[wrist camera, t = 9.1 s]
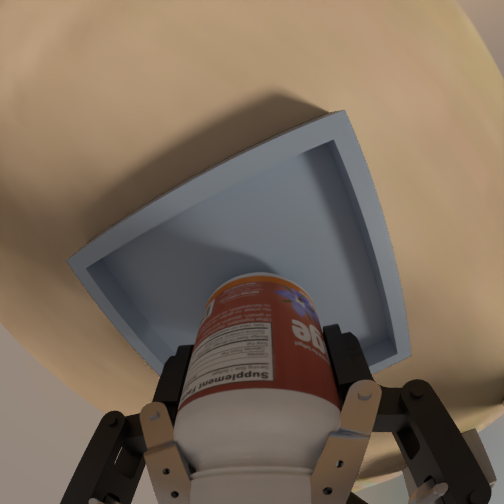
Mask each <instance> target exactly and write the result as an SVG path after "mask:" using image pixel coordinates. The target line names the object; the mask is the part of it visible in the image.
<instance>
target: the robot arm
mask: <svg viewBox="0 0 504 504" xmlns="http://www.w3.org/2000/svg"><path fill="white" fill-rule="evenodd" d="M323 336H324V340H325V343H326V347H327V350H328V354H329V358H330V362H331V367H332V369H333V374H334V378H335V382H336V386H337V390H338V395H339V399H340V403H341V407H342V411H341V413H340V427H339V429H338V430H336V431H335V430H332V432H331V434H330V436H329V438H328V440H327V443H326V445H325V447H324V450H323V452H322V454H321V456H320V459H319V461H318V463H317V465H316V467H315V469H314V471H313V474H312V476H311V478H310V484H311V504H368V503H366V502H365V501H364V500H362V499H361V498H359V497H358V496H357V495H355V494H354V493H352V492H351V490H352V487H353V485H354V482H355V480H356V477H357V475H358V472H359V469H360V466H361V464H362V461H363V458H364V455H365V452H366V449H367V446H368V443H369V439H370V436H371V433H372V432H392V434H393V436H394V438H395V440H396V442H397V444H398V446H399V448H400V451H401V453H402V455H403V457H404V459H405V461H406V464H407V466H408V468H409V470H410V472H411V475H412V477H413V479H414V481H415V484H416V486H417V488H418V489H417V490H416V491H414V492H413V494H412V495H411V496H410V498H409V502H408V504H488V502H489V500H490V498H491V487H490V485H489V483H488V481H487V479H486V477H485V475H484V473H483V471H482V469H481V468H480V466H479V464H478V462H477V460H476V459H475V457H474V455H473V453H472V451H471V450H470V448H469V446H468V444H467V443H466V441H465V439H464V438H463V436H462V434H461V433H460V431H459V429H458V428H457V426H456V424H455V423H454V421H453V420H452V418H451V416H450V415H449V413H448V412H447V410H446V408H445V407H444V405H443V404H442V402H441V401H440V399H439V398H438V396H437V395H436V393H435V392H434V390H433V389H432V387H431V386H430V384H429V383H427V382H426V381H424V380H419V379H416V380H411V381H409V382H407V383H406V384H405V385H404V386H403V388H387V387H383V386H380V385H379V384H377V383H376V382H375V381H374V379H373V377H372V375H371V372H370V369H369V367H368V364H367V361H366V359H365V356H364V354H363V351H362V348H361V346H360V343H359V341H358V338H357V337H356V336H355V335H353V334H352V333H351V332H347V333H341V330H340V327H339V325H338V324H333V325H328V326H323ZM193 348H194V344H190V345H179V346H178V348H177V351H176V355H175V356H170V357H169V359H168V360H167V361H166V362H165V364H164V367H163V370H162V373H161V376H160V379H159V382H158V385H157V388H156V391H155V395H154V398H153V401H152V403H149V404H147V405H145V406H144V407H143V408H142V410H141V412H140V413H139V414H134V415H130V416H124V415H123V414H122V413H121V412H119V411H110V412H108V413H107V414H105V415H104V416H103V418H102V419H101V421H100V423H99V425H98V427H97V429H96V431H95V433H94V435H93V437H92V439H91V440H90V442H89V444H88V446H87V448H86V450H85V452H84V454H83V456H82V458H81V460H80V462H79V464H78V466H77V468H76V471H75V473H74V475H73V477H72V479H71V481H70V483H69V485H68V487H67V489H66V492H65V494H64V496H63V498H62V500H61V503H60V504H131V502H132V499H133V496H134V494H135V491H136V488H137V486H138V483H139V480H140V478H141V475H142V472H143V470H144V467H145V465H146V466H147V469H148V472H149V476H150V479H151V482H152V486H153V489H154V492H155V495H156V498H157V501H158V503H159V504H189V503H190V492H191V482H190V481H191V480H192V479H191V478H190V475H192V474H193V473H196V469H195V468H194V467H193V466H192V464H191V463H190V462H189V461H188V460H187V458H186V457H185V456H184V454H183V453H182V451H181V450H180V448H179V446H178V444H177V442H176V441H174V437H173V432H174V426H175V420H176V415H177V412H178V407H179V403H180V399H181V395H182V391H183V387H184V383H185V379H186V376H187V372H188V367H189V364H190V360H191V356H192V352H193ZM502 404H503V406H504V399H503V402H502ZM121 447H122V449H121ZM120 449H121V451H120ZM119 451H120V454H119V456H118V453H119ZM117 456H118V458H117ZM116 458H117V460H116ZM115 460H116V463H115ZM114 464H115V465H114ZM325 491H327V495H325V494H324V493H323V492H325Z"/></svg>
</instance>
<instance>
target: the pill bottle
mask: <svg viewBox="0 0 504 504" xmlns="http://www.w3.org/2000/svg"><path fill="white" fill-rule="evenodd" d="M341 411H342V407H341V403H340V399H339V395H338V390H337V386H336V382H335V378H334V374H333V369H332V367H331V362H330V358H329V354H328V350H327V347H326V343H325V340H324V336H323V332H322V329H321V325H320V321H319V318H318V314H317V311H316V308H315V305H314V303H313V301H312V299H311V297H310V296H309V295H308V293H307V292H306V291H305V290H304V289H303V288H302V287H301V286H299V285H298V284H297V283H295V282H294V281H292V280H290V279H288V278H286V277H284V276H280V275H277V274H273V273H266V272H255V273H248V274H244V275H240V276H237V277H234V278H232V279H230V280H228V281H227V282H225V283H223V284H222V285H221V286H220V287H218V288H217V289H216V290H215V291H214V292H213V294H212V295H211V296H210V298H209V300H208V301H207V303H206V306H205V309H204V312H203V315H202V319H201V323H200V326H199V330H198V334H197V337H196V341H195V344H194V348H193V352H192V356H191V360H190V364H189V367H188V372H187V376H186V379H185V383H184V387H183V391H182V395H181V399H180V403H179V407H178V412H177V415H176V420H175V426H174V432H173V437H174V441H176V442H177V444H178V446H179V448H180V450H181V451H182V453H183V454H184V456H185V457H186V458H187V460H188V461H189V462H190V463H191V464H192V466H193V467H194V468H195V469H196V473H193V474H192V475H190V478H191V479H192V480H191V481H190V482H191V492H190V503H189V504H311V484H310V478H311V476H312V474H313V471H314V469H315V467H316V465H317V463H318V461H319V459H320V456H321V454H322V452H323V450H324V447H325V445H326V443H327V440H328V438H329V436H330V434H331V432H332V430H335V431H336V430H338V429H339V427H340V413H341ZM323 493H324V494H325V495H327V491H325V492H323Z"/></svg>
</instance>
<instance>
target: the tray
mask: <svg viewBox="0 0 504 504" xmlns="http://www.w3.org/2000/svg"><path fill="white" fill-rule="evenodd" d="M67 263H68V264H69V266H70V267H71V269H72V270H73V272H74V273H75V275H76V276H77V278H78V279H79V280H80V282H81V283H82V285H83V286H84V287H85V289H86V290H87V292H88V293H89V294H90V296H91V297H92V298H93V300H94V301H95V302H96V304H97V305H98V306H99V307H100V309H101V310H102V311H103V313H104V314H105V315H106V316H107V318H108V319H109V320H110V321H111V322H112V324H113V325H114V326H115V327H116V329H117V330H118V331H119V332H120V333H121V334H122V336H123V337H124V338H125V339H126V340H127V341H128V342H129V344H130V345H131V346H132V347H133V348H134V349H135V350H136V351H137V353H138V354H139V355H140V356H141V357H142V358H143V359H144V360H145V361H146V362H147V363H148V364H149V365H150V366H151V367H152V368H153V369H154V371H155V372H156V373H157V374H158V375H159V376H161V373H162V370H163V367H164V364H165V362H166V361H167V360H168V359H169V357H170V356H175V355H176V351H177V348H178V346H179V345H190V344H195V341H196V337H197V334H198V330H199V326H200V323H201V319H202V315H203V312H204V309H205V306H206V303H207V301H208V300H209V298H210V296H211V295H212V294H213V292H214V291H215V290H216V289H217V288H218V287H220V286H221V285H222V284H223V283H225V282H227V281H228V280H230V279H232V278H234V277H237V276H240V275H244V274H248V273H255V272H266V273H273V274H277V275H280V276H284V277H286V278H288V279H290V280H292V281H294V282H295V283H297V284H298V285H299V286H301V287H302V288H303V289H304V290H305V291H306V292H307V293H308V295H309V296H310V297H311V299H312V301H313V303H314V305H315V308H316V311H317V314H318V318H319V321H320V325H321V329H322V332H323V326H328V325H333V324H338V325H339V327H340V330H341V333H347V332H351V333H352V334H353V335H355V336H356V337H357V338H358V341H359V343H360V346H361V348H362V351H363V354H364V356H365V359H366V361H367V364H368V367H369V369H370V372H371V374H374V373H376V372H378V371H380V370H383V369H385V368H387V367H389V366H391V365H394V364H396V363H398V362H400V361H402V360H404V359H406V358H408V357H410V356H412V355H411V346H410V338H409V330H408V323H407V317H406V310H405V304H404V299H403V293H402V288H401V283H400V278H399V273H398V269H397V264H396V260H395V256H394V252H393V247H392V243H391V240H390V236H389V232H388V228H387V225H386V221H385V218H384V214H383V211H382V208H381V204H380V201H379V198H378V195H377V192H376V189H375V186H374V183H373V180H372V177H371V174H370V171H369V168H368V166H367V163H366V160H365V157H364V155H363V152H362V150H361V147H360V145H359V142H358V140H357V137H356V135H355V132H354V130H353V127H352V125H351V123H350V120H349V118H348V116H347V114H346V111H345V110H341V111H335V112H330V113H327V114H325V115H322V116H320V117H317V118H315V119H312V120H310V121H307V122H305V123H302V124H300V125H298V126H295V127H293V128H291V129H288V130H286V131H284V132H282V133H279V134H277V135H275V136H273V137H271V138H268V139H266V140H264V141H262V142H260V143H258V144H256V145H253V146H251V147H249V148H247V149H245V150H243V151H241V152H239V153H237V154H235V155H233V156H231V157H229V158H227V159H225V160H223V161H221V162H219V163H217V164H215V165H214V166H212V167H210V168H208V169H206V170H204V171H202V172H200V173H199V174H197V175H195V176H193V177H191V178H190V179H188V180H186V181H184V182H182V183H181V184H179V185H177V186H175V187H174V188H172V189H170V190H169V191H167V192H165V193H163V194H162V195H160V196H158V197H157V198H155V199H153V200H152V201H150V202H148V203H147V204H145V205H144V206H142V207H140V208H139V209H137V210H136V211H134V212H132V213H131V214H129V215H128V216H126V217H125V218H123V219H122V220H120V221H119V222H117V223H115V224H114V225H112V226H111V227H109V228H108V229H107V230H105V231H104V232H102V233H101V234H99V235H98V236H96V237H95V238H93V239H92V240H91V241H89V242H88V243H86V244H85V245H84V246H83V247H82V248H80V249H79V250H78V251H77V252H76V253H75V254H73V255H72V256H71V257H70V258H69V259H68V260H67Z"/></svg>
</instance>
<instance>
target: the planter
mask: <svg viewBox="0 0 504 504" xmlns="http://www.w3.org/2000/svg"><path fill="white" fill-rule="evenodd" d="M462 436H463V438H464V439H465V441H466V443H467V444H468V446H469V448H470V450H471V451H472V453H473V455H474V457H475V459H476V460H477V462H478V464H479V466H480V468H481V469H482V471H483V473H484V475H485V477H486V479H487V481H488V483H489V485H490V487H491V490H492V488H493V486H494V485H495V483H496V476H495V473H494V470H493V468H492V466H491V463H490V460H489V458H488V455H487V453H486V451H485V449H484V446H483V444H482V442H481V439H480V437H479V435H478V433H477V431H476V429H472V430H470V431H467V432H465V433H462ZM402 472H403V475H404V479H405V483H406V487H407V490H408V494H409V498H410V496H411V495H412V494H413V492H414V491H416V490H417V489H418V488H417V486H416V484H415V481H414V479H413V477H412V475H411V472H410V470H409V468H408V466H407V467H406V468H404V469H403V470H402Z"/></svg>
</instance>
